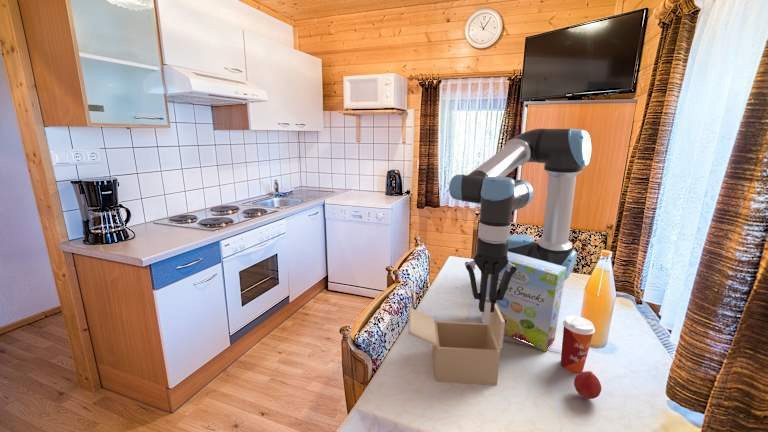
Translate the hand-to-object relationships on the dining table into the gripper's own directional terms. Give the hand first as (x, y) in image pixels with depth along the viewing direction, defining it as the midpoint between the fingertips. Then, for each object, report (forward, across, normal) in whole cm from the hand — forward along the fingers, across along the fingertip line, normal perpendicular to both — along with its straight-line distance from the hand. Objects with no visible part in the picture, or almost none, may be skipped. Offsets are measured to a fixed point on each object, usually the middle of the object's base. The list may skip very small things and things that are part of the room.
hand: (485, 322), depth 93 cm
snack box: (+15, -15, -18) cm, 28 cm away
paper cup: (+15, -26, -3) cm, 30 cm away
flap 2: (0, -3, 0) cm, 3 cm away
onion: (+15, -24, +9) cm, 29 cm away
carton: (+14, +5, 0) cm, 15 cm away
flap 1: (+2, +17, 0) cm, 17 cm away
